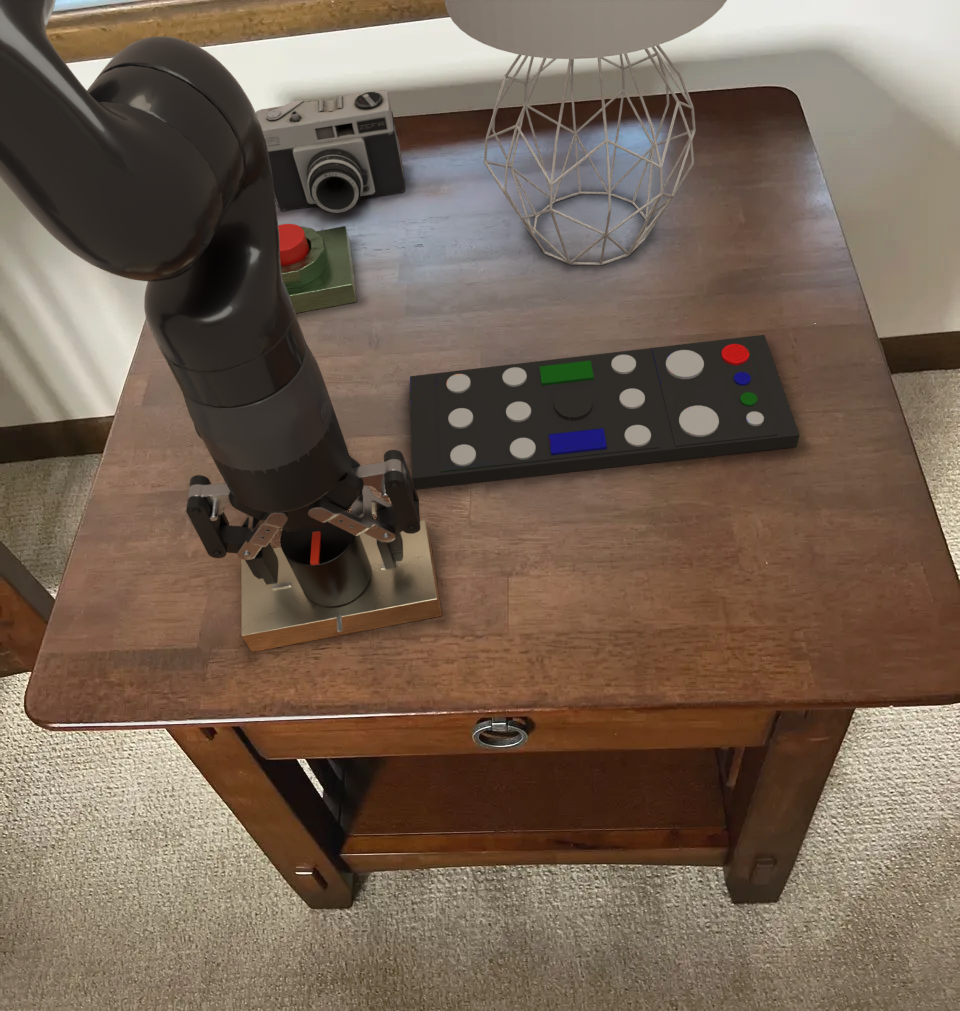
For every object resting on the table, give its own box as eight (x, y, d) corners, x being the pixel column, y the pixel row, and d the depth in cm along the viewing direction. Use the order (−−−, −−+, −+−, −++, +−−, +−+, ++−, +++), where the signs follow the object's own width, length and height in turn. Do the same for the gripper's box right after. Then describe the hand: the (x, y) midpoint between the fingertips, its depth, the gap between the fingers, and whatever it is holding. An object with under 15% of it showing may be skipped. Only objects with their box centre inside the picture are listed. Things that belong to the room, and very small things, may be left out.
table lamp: (457, 302, 86) (376, -218, 54) (493, 159, 99) (444, -330, 66) (702, 310, 82) (772, -245, 50) (706, 161, 95) (764, -359, 63)
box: (243, 323, 87) (229, 291, 84) (243, 263, 93) (230, 230, 90) (357, 302, 88) (347, 269, 84) (350, 243, 93) (341, 210, 90)
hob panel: (252, 667, 66) (240, 650, 64) (251, 558, 71) (240, 540, 69) (444, 630, 66) (439, 612, 64) (428, 525, 71) (423, 505, 69)
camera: (269, 231, 95) (240, 142, 87) (283, 181, 101) (257, 93, 93) (401, 222, 94) (384, 131, 86) (408, 172, 99) (392, 82, 92)
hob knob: (303, 548, 68) (281, 503, 64) (372, 542, 68) (355, 496, 63) (298, 610, 65) (275, 566, 60) (370, 603, 65) (353, 559, 60)
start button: (268, 269, 86) (262, 254, 85) (267, 243, 88) (261, 227, 87) (310, 261, 86) (305, 246, 85) (308, 235, 88) (303, 220, 87)
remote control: (796, 447, 72) (800, 430, 71) (415, 489, 74) (411, 474, 72) (761, 347, 79) (765, 330, 77) (412, 387, 80) (408, 371, 79)
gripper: (387, 353, 54) (428, 511, 67) (152, 384, 55) (237, 535, 68) (391, 450, 50) (433, 599, 63) (134, 483, 50) (229, 624, 63)
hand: (331, 566), depth 65 cm, fingers open, 8 cm apart
